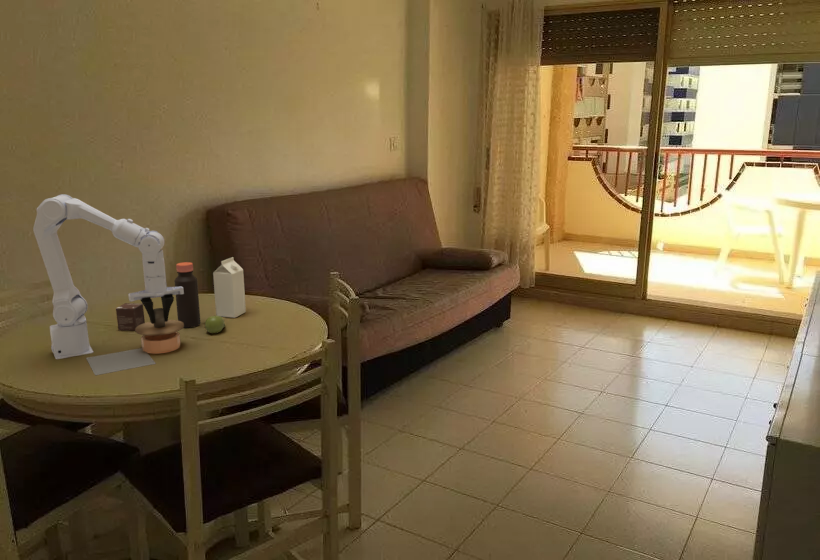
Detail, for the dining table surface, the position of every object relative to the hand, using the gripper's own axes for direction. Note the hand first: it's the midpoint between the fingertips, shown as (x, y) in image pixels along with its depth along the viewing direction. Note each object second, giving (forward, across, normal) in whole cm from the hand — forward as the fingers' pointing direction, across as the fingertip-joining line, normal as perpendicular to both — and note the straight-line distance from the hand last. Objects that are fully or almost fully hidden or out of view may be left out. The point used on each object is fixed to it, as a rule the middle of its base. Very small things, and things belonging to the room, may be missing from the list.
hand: (159, 321), depth 189 cm
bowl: (+8, 0, 0) cm, 8 cm away
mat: (+8, -12, -5) cm, 15 cm away
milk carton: (+8, +28, +22) cm, 37 cm away
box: (+8, -3, +25) cm, 27 cm away
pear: (+8, +18, +8) cm, 22 cm away
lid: (+2, 0, 0) cm, 2 cm away
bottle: (+8, +13, +18) cm, 24 cm away
